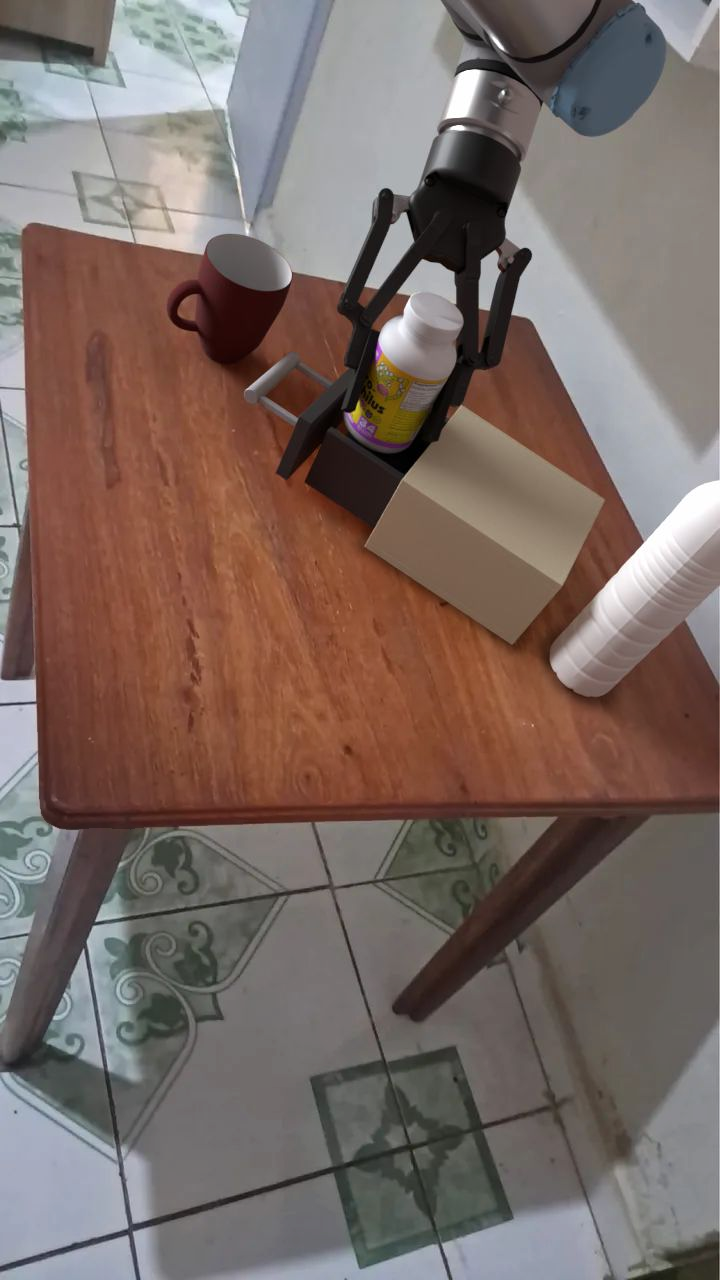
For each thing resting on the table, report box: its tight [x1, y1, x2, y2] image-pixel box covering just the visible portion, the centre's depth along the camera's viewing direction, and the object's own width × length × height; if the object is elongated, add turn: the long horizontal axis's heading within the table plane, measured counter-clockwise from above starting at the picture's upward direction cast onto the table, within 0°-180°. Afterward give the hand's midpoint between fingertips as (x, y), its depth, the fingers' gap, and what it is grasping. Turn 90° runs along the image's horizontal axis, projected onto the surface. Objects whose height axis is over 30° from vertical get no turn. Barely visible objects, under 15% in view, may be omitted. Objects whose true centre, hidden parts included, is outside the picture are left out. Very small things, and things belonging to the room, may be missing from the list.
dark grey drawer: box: [243, 351, 451, 529], centre depth 85 cm, size 20×12×7 cm, turn 63°
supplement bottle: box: [343, 291, 463, 454], centre depth 79 cm, size 7×7×13 cm
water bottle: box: [549, 479, 720, 698], centre depth 75 cm, size 9×6×25 cm
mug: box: [166, 233, 294, 365], centre depth 88 cm, size 10×8×10 cm
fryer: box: [364, 404, 606, 646], centre depth 85 cm, size 16×14×9 cm
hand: (389, 425), depth 79 cm, fingers closed on supplement bottle, 7 cm apart
